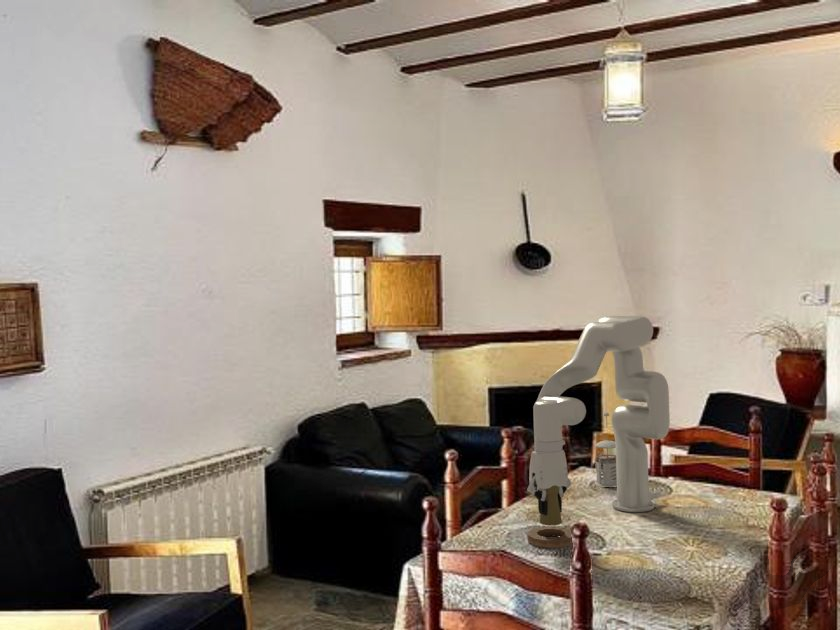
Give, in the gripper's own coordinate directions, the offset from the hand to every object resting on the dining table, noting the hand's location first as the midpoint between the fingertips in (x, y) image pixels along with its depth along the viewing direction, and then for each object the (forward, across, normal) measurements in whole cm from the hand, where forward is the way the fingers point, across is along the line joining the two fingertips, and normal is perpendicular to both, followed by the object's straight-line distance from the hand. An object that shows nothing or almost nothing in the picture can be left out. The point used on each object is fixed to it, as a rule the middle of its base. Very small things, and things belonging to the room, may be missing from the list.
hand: (550, 512), depth 224 cm
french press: (+8, -51, -39) cm, 65 cm away
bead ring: (+8, 0, 0) cm, 8 cm away
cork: (+3, 0, 0) cm, 3 cm away
